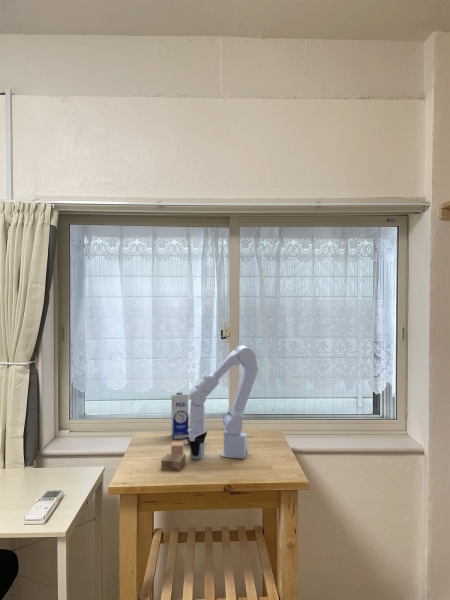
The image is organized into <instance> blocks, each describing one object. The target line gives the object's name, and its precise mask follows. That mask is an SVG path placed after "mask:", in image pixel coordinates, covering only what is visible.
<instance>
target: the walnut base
mask: <svg viewBox="0 0 450 600" xmlns="http://www.w3.org/2000/svg"><path fill="white" fill-rule="evenodd" d="M185 463H186V455H185V454H183V455H178V454H171V453H167V454H166V455H165V456H164V457H163V458H162V459H161V461H160V465H161V466H160V467H161V470H165V471H166V470H167V471H178V472H180V471H181V469H182V468H183V466H184V465H185Z"/></svg>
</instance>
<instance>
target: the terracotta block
mask: <svg viewBox="0 0 450 600" xmlns="http://www.w3.org/2000/svg"><path fill="white" fill-rule="evenodd" d="M184 443H185V442H184V441H172V442H171V446H170V447H171V448H170V449H171V450H170V451H171V453H170V454H178V455H185V451H184V450H185V448H184V447H185V446H184Z"/></svg>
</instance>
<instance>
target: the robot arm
mask: <svg viewBox="0 0 450 600" xmlns="http://www.w3.org/2000/svg"><path fill="white" fill-rule="evenodd" d="M238 365H241V366H242V368H243V369H244V372H243V374H242V377H241V380H240V383H239V385H238V387H237V388H238V389H237V392H236V394H235V397H234V399H233V402H232V405H231V407H230V408H229V409H228V412H227V413H226V414H225V415H224V416H223V419H222V424H223V425H224V430H223V451H222V453H221V454H220V457H222V458H231V459H232V458H233V459H241V460H242V459H243V460H244V459H245V458H246V455H247V454H248V434H247V433H245V432H242V430H243V421H244V411H245V409H246V405H247V403H248V400H249V398H250V397H249V396H250V394H251V392H252V389H253V386H254V382H255V380H256V378H257V375H258V371H259V368H258V362H257V355H256V353H255V352H254V350H253V349H252V348H250V347H248V346H246V345H244V344H239V345H237V346H236V347H235V349H233V350H232V351H231V352H230V353H229V354H228V355H227V356H226V358H225V359H224V360H223V362H222V363H220V364H219V366H218V367H217V368H216V370H215V371H214V372H213V373H208V374H207V375H204V376H203V377H202V378H203V379H202V380H201V382H200V383H198V385H195V388H193V389H192V390H191V391H190V392H189V394H188V395H189V396H188V398H189V399H190V403H189V404H190V407H189V410H190V411H189V420H190V421H189V426H190V427H189V428H188V430H187V432H188V433H189V432H190V436H189V437H188V438H187V442H188V444H189V448H190V447H191V451H192V455H193V456H198V454H199V447H200V443H204V444H205V440H206V437H207V435H208V433H207V432H208V431H207V432H206V425H205V422H206V421H205V402H206V399H207V397H208V396H209V395H210V394H212V392H213V391H214V390H215V389H216V388H217V387H218V386H219V381H220V379H221V378H222V377H223V376H224V375H225V374H227V372H228V371H229V370H230V369H231V368H232V367H233V366H238Z"/></svg>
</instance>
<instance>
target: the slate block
mask: <svg viewBox="0 0 450 600" xmlns="http://www.w3.org/2000/svg"><path fill="white" fill-rule="evenodd" d="M189 454H190V455H189V459H192V460H202V459H203V458H204V456H205V442H204V443H200V447H199V454H198V456H193V455H192V451H191V447H190V446H189Z"/></svg>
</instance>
